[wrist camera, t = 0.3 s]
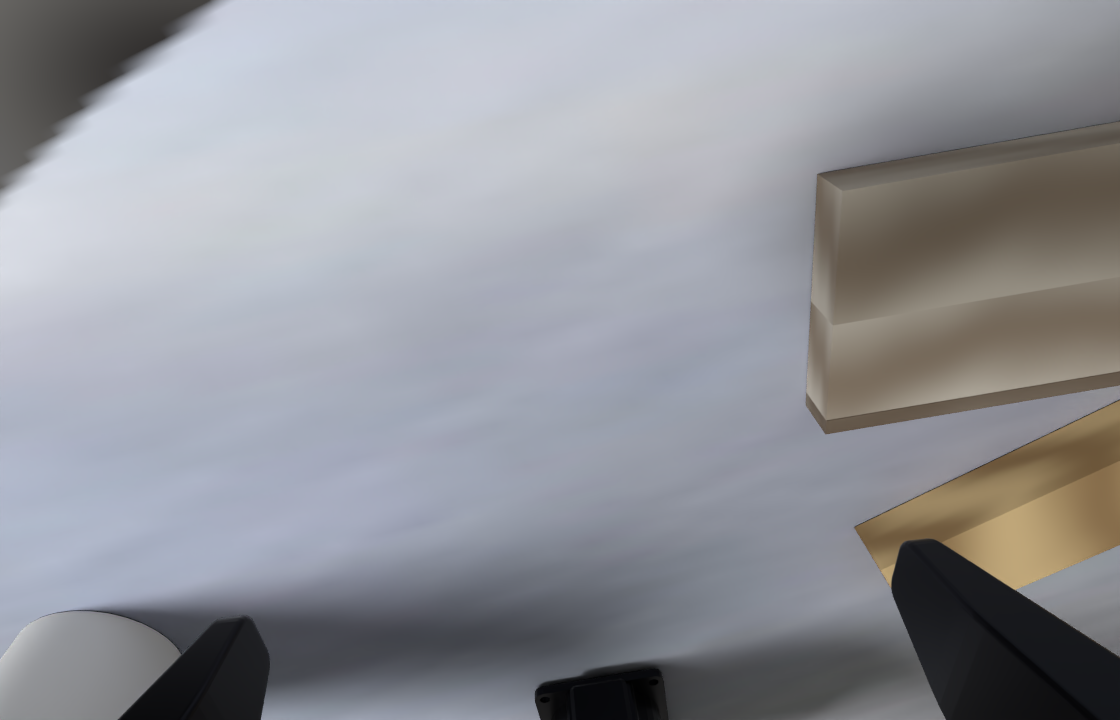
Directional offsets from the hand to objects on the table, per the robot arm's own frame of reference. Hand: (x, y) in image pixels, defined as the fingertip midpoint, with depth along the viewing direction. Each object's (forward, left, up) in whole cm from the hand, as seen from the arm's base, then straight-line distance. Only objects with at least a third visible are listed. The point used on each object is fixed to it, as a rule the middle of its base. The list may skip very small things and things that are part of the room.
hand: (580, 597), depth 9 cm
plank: (-15, -20, -14) cm, 28 cm away
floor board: (-4, -19, -14) cm, 24 cm away
